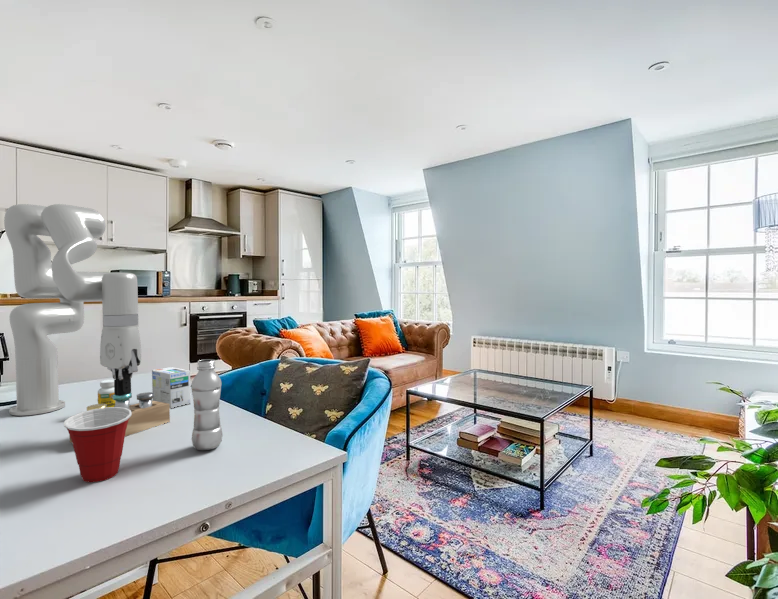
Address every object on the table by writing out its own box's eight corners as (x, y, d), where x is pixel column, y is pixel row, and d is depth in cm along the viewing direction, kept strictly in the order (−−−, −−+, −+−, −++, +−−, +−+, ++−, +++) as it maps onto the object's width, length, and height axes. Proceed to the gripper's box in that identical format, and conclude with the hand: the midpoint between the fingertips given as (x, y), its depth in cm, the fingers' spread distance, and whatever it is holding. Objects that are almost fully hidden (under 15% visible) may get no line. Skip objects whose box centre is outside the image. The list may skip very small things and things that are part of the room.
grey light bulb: (133, 423, 109) (133, 395, 109) (148, 418, 113) (147, 391, 112) (143, 425, 107) (142, 397, 107) (158, 421, 111) (157, 393, 111)
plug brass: (83, 438, 98) (82, 407, 98) (101, 433, 102) (100, 402, 102) (93, 441, 97) (92, 409, 96) (111, 435, 100) (110, 405, 100)
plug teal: (109, 424, 104) (109, 395, 103) (126, 420, 107) (125, 391, 107) (119, 427, 102) (119, 397, 102) (135, 422, 106) (135, 393, 105)
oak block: (69, 442, 98) (69, 421, 97) (150, 417, 115) (150, 400, 115) (89, 448, 94) (88, 426, 94) (169, 422, 112) (169, 403, 112)
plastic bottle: (192, 456, 90) (190, 364, 89) (191, 445, 96) (189, 359, 95) (224, 450, 93) (223, 362, 92) (221, 440, 99) (220, 357, 98)
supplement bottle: (120, 410, 123) (119, 378, 122) (120, 414, 118) (120, 381, 118) (98, 413, 120) (97, 380, 119) (97, 418, 115) (97, 383, 115)
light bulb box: (191, 404, 129) (191, 369, 129) (170, 409, 123) (169, 373, 123) (172, 399, 135) (171, 366, 134) (151, 403, 129) (150, 369, 129)
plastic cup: (56, 494, 73) (54, 427, 73) (74, 469, 83) (73, 410, 83) (128, 483, 77) (126, 419, 77) (137, 460, 87) (136, 404, 87)
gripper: (87, 322, 104) (89, 394, 104) (124, 324, 97) (126, 401, 98) (118, 319, 110) (120, 388, 111) (154, 321, 104) (156, 394, 104)
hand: (122, 394), depth 104 cm, fingers closed
